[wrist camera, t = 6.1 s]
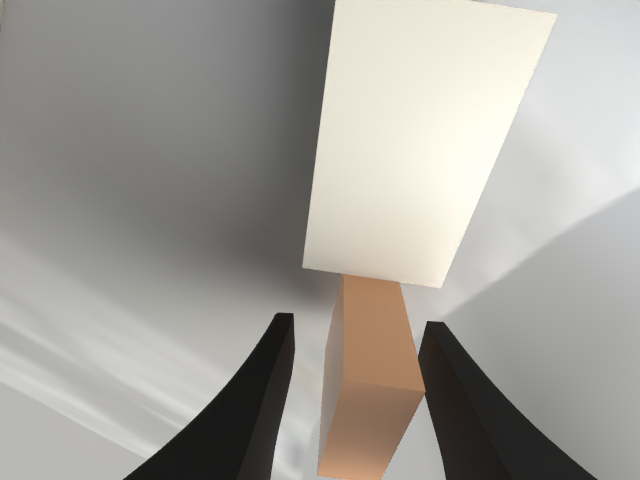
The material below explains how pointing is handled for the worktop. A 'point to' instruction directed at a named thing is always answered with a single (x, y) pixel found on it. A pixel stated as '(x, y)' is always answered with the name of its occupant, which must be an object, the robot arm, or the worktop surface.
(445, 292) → the worktop surface
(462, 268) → the worktop surface
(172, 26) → the worktop surface
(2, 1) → the packaged product
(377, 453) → the two-tone stacked block
